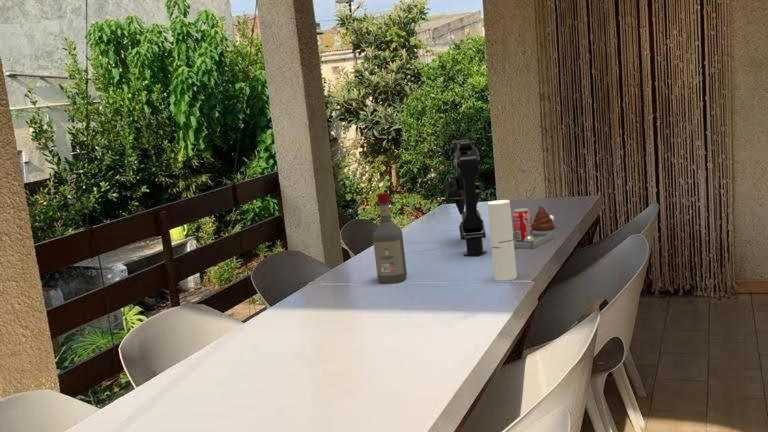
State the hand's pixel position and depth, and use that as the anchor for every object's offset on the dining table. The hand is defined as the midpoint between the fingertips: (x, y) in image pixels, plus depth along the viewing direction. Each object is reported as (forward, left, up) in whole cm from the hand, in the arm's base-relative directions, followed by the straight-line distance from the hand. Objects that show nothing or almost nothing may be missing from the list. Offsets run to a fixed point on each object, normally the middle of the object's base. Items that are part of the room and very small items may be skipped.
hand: (467, 212), depth 331 cm
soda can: (+8, -19, -13) cm, 24 cm away
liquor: (-53, 0, -13) cm, 55 cm away
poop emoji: (+31, -16, -13) cm, 38 cm away
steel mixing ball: (0, -25, -12) cm, 28 cm away
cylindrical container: (-43, -38, -13) cm, 59 cm away
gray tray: (+6, -20, -13) cm, 25 cm away
